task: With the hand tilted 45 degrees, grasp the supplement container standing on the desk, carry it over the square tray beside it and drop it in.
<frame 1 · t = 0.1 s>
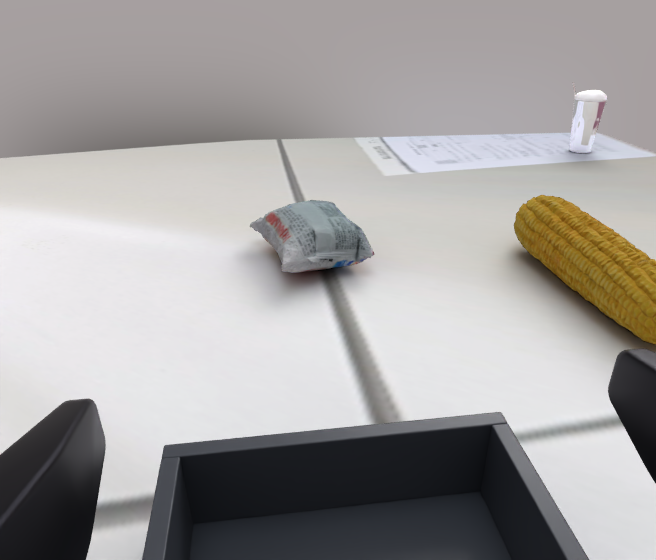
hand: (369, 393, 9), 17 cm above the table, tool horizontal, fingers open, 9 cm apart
food: (588, 294, 46), on the table
packaged food: (307, 260, 52), on the table
milkshake: (576, 151, 86), on the table
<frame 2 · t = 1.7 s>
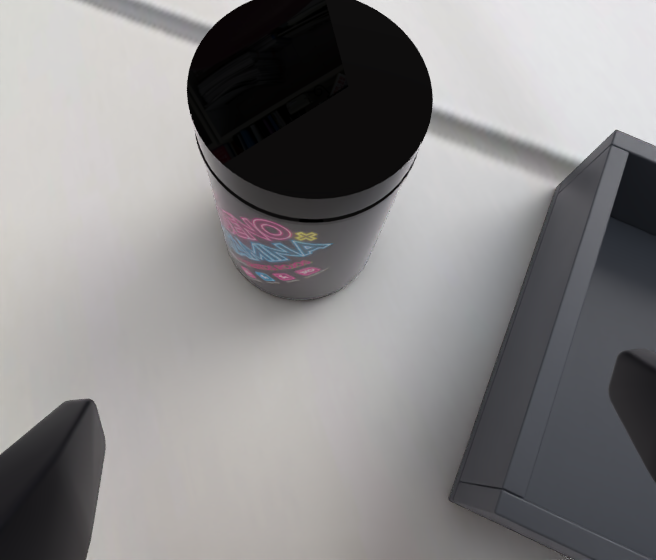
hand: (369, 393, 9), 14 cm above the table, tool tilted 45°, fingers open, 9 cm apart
supplement container: (299, 235, 25), on the table
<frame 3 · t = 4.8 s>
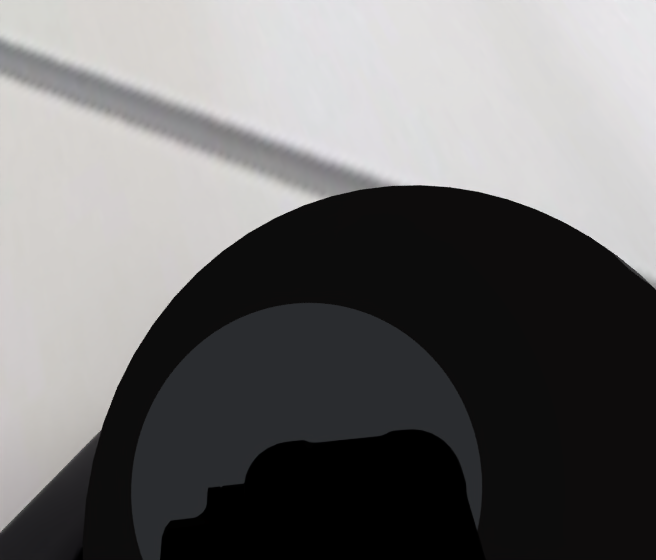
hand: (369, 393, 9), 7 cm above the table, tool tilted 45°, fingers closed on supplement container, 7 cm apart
supplement container: (337, 466, 15), on the table, touching gripper
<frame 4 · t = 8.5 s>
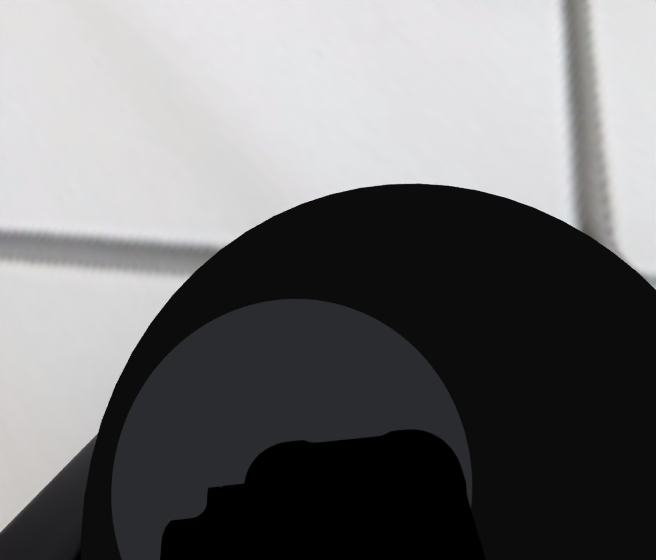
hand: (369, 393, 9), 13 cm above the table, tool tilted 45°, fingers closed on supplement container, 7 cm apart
supplement container: (336, 466, 15), point 7 cm above the table, touching gripper
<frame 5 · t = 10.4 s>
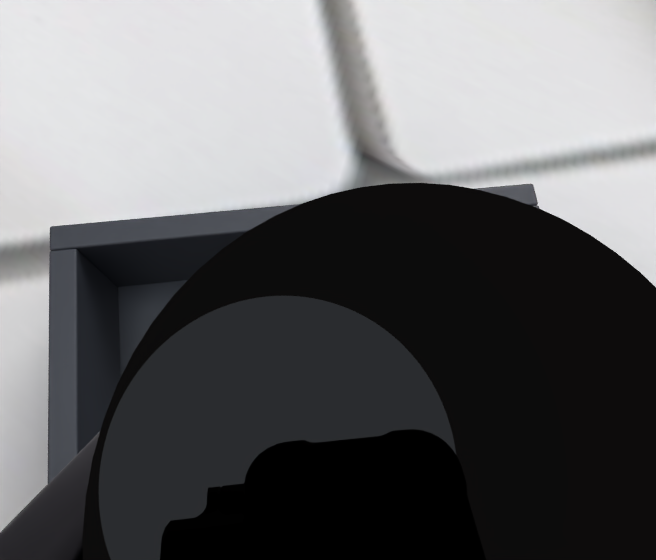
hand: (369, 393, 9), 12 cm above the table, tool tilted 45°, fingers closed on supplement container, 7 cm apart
supplement container: (336, 465, 15), point 5 cm above the table, touching gripper
square tray: (324, 452, 20), on the table
when the fingers open (7 cm above the table, at t = 12.3 s): supplement container stays where it is, resting on square tray.
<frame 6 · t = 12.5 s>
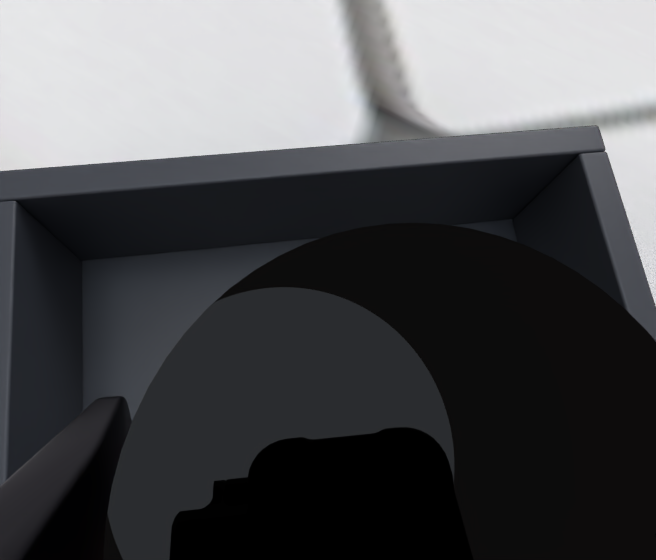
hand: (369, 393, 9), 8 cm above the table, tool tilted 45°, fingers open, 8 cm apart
supplement container: (337, 473, 16), resting on square tray
square tray: (334, 464, 16), on the table
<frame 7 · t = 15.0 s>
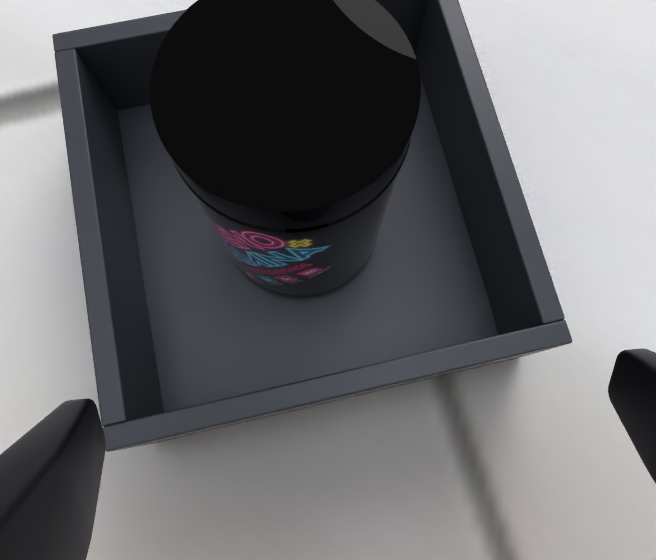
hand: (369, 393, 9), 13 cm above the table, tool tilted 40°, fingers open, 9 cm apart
supplement container: (301, 226, 24), resting on square tray
square tray: (300, 224, 24), on the table
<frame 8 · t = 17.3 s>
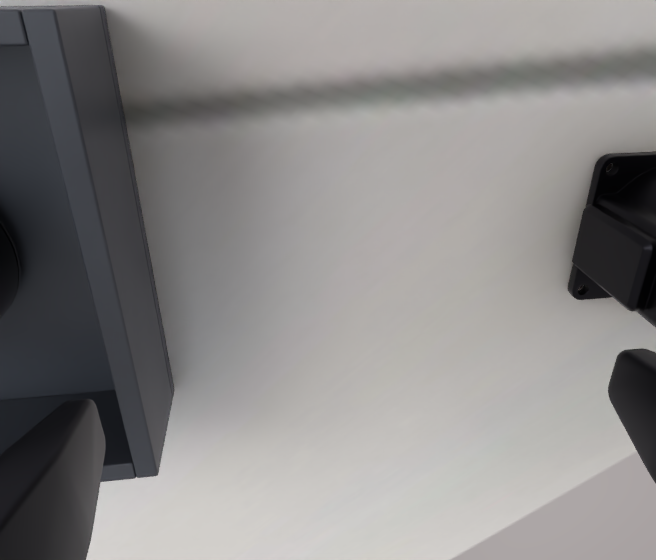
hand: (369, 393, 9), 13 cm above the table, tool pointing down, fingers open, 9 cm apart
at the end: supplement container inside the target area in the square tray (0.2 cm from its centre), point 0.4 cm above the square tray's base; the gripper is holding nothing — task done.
